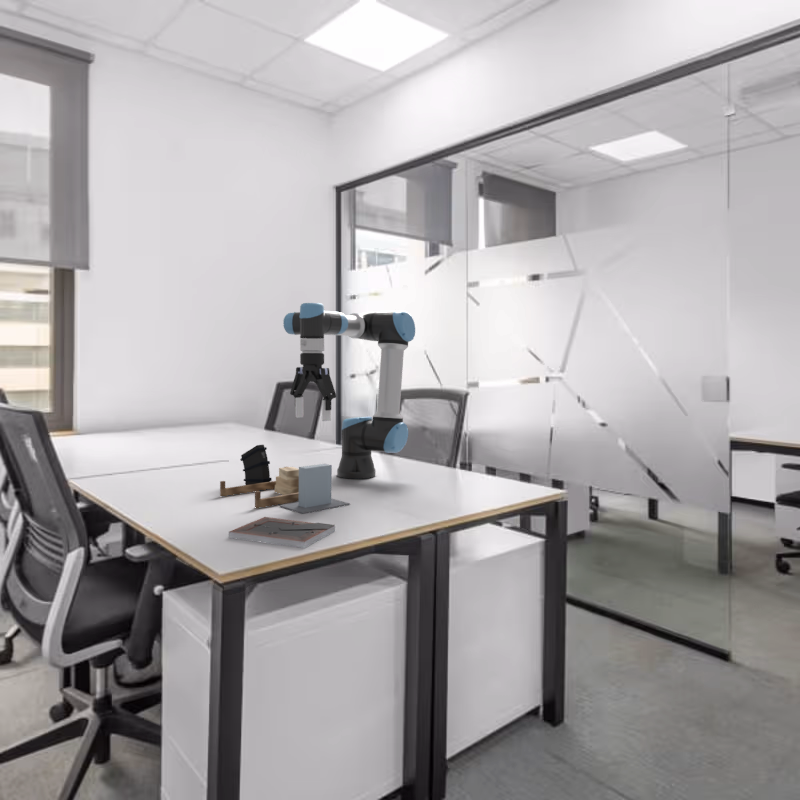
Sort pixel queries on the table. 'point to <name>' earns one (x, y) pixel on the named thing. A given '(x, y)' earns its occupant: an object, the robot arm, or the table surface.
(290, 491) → the block
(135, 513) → the table surface
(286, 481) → the block
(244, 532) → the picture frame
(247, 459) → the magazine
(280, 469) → the offcut top
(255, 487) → the rack
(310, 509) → the mat
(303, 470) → the pale blue chunky brick
